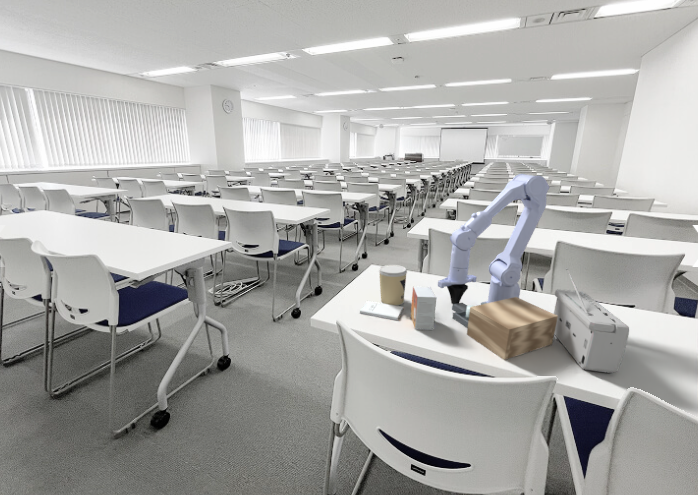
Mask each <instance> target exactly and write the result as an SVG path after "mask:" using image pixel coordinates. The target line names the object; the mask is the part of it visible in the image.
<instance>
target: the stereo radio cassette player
mask: <svg viewBox="0 0 698 495" xmlns="http://www.w3.org/2000/svg"><path fill="white" fill-rule="evenodd" d="M565 270H566V271H567V272H568V273H567V274H568V275H569V278H570V281H571V283H572V285H573V288H574V290H571V289H555V292H554V296H555V297H556V301H555V304H554V305H555V306H554V311H553V314H555V315H557V316H558V318H557V323H556V327H555V332H554V336H555V337H556V338H557V339H558V340H559V342H560V343H561V344H562V346H564V348H565V349H566V350H567V352H568V353H569V354H570V355H571V356H572V358H573V359H574V360H575V361H576V362H577V364H578V365H579V367H580V368H581V369H582V370H584V369H585V370H586V371H593V372H601V373H606V372H607V373H606V374H608V373H609V374H612V373H618V370H619V368H620V366H621V364H622V360H623V358H624V355H625V351H626V347H627V343H628V339H629V335H630V327H629V325H627V324H626V323H624V322H623V320H621V319H620V318H619V317H617V316H615V315H614V314H613V313H611V312H610V311H609V310H608V309H606V308H605V307H604V306H602V305H601V304H600V303H599V302H598V301H596V300H595V299H594V298H593V297H591V296H590V295H588V293H586V292H584V291H583V290H579V289H578V288H577V286H576V284H575V282H574V281H575V280H574V279H573V278H572V275H571V273H570V271H569V267H566V268H565Z"/></svg>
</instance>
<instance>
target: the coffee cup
mask: <svg viewBox="0 0 698 495" xmlns="http://www.w3.org/2000/svg"><path fill="white" fill-rule="evenodd" d="M378 272H379V288H380V290H379V291H380V301H381V302H380V303H383V304H389V305H395V306H401V305H403V303H404V301H405V292H406V291H405V290H406V282H407V274H408V271H407V268H406V267H405V266H402V265H399V264H386V265H382V266H381V267H380V268H379V269H378Z"/></svg>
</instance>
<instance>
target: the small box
mask: <svg viewBox="0 0 698 495" xmlns="http://www.w3.org/2000/svg"><path fill="white" fill-rule="evenodd" d="M410 306H411V308H410V318H411V321H412V325H413V328H414V330H426V331H427V330H429V331H431V330H432V331H433V330H434V325H435V318H436V317H435V315H436V308H437V307H436V306H437V296H436V295H435V292H434V291H433V289H432V287H431V286H420V285H419V286H417V285H416V286H415V285H414V286H412V295H411V304H410Z"/></svg>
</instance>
